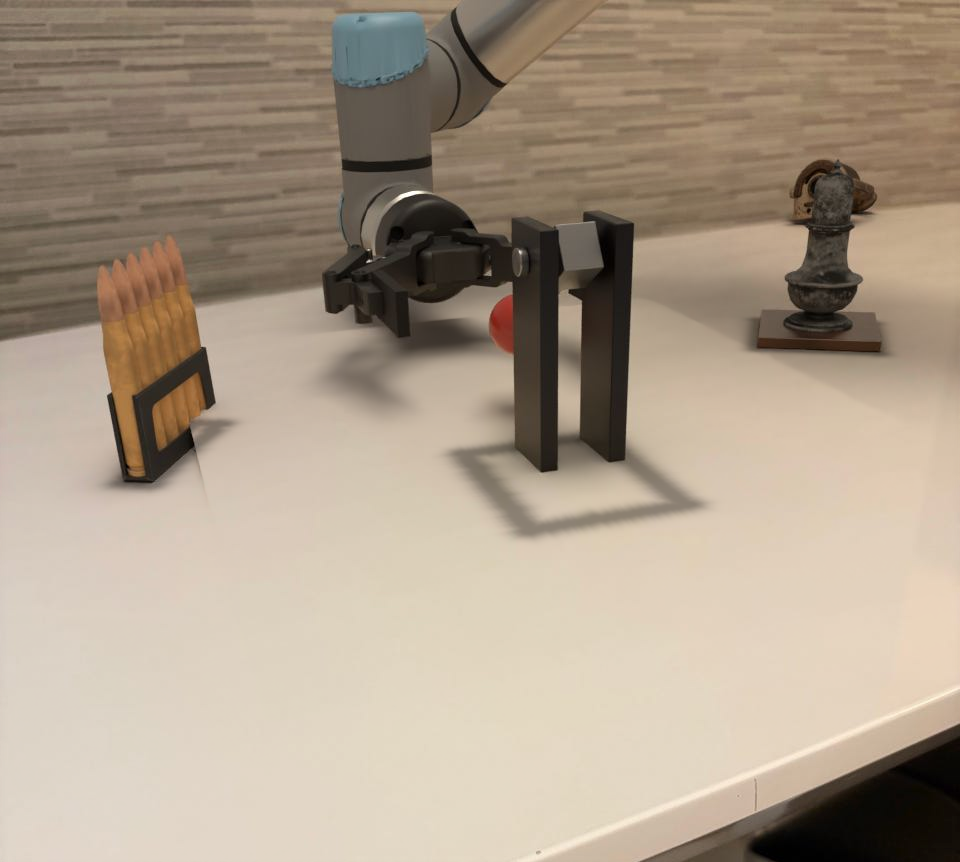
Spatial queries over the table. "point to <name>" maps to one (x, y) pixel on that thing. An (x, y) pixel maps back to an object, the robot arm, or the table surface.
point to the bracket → (599, 340)
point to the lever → (575, 271)
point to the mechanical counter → (807, 182)
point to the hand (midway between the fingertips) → (510, 303)
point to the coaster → (819, 333)
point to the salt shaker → (825, 260)
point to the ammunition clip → (152, 360)
